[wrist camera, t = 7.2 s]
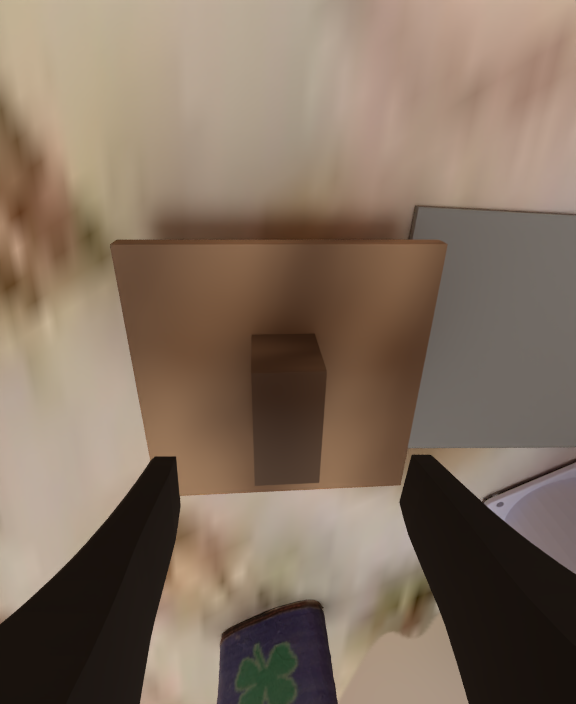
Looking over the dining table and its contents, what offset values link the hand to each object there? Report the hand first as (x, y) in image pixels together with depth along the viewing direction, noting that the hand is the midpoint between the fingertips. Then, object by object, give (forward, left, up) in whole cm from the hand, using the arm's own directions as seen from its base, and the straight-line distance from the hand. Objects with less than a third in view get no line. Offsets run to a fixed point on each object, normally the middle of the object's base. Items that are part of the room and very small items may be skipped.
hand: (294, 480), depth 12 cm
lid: (0, 0, -6) cm, 6 cm away
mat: (-11, +7, -10) cm, 16 cm away
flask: (+13, +22, -10) cm, 28 cm away
